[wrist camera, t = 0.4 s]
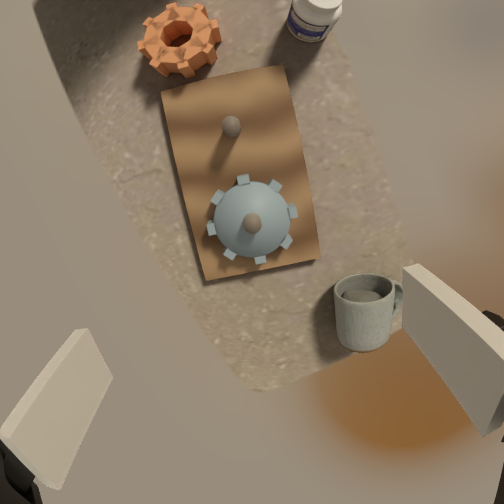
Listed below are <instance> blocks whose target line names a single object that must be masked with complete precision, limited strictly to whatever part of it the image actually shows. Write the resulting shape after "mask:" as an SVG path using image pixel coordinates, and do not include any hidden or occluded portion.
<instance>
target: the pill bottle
mask: <svg viewBox="0 0 504 504" xmlns="http://www.w3.org/2000/svg"><path fill="white" fill-rule="evenodd" d="M342 1H343V0H293V1H292V4H291V7H290V11H289V14H288V18H287V26H288V29H289V31H290V32H291V33H292V34H293V35H294V36H295V37H296V38H298V39H300V40H302V41H306V42H317V41H320V40H322V39H324V38H325V37H326V36H327V35H328V34H329V32H330V31H331V29H332V28H333V26H334V25H335V23H336V22H337V21H338V19H339V18H340V16H341V13H342V5H341V3H342Z"/></svg>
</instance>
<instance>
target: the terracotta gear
mask: <svg viewBox="0 0 504 504" xmlns="http://www.w3.org/2000/svg"><path fill="white" fill-rule="evenodd" d="M166 7H167V10H166V11H164V12H163V13H161V14H160V15H158V16H157V17H155V18H154V19H153V18H150V17H148V18H147V19H146V20H145V22H144V23H143V25H144V26H145V28H146V33H145V36H144V39H143V40H141V41H138V42H137V44H138V50H139V51H140V52H141V53H142V54H143V55H144V56H146V57H147V58H148V59H149V60H150V61H151V62H150V63H149V64H150V65H151V66H152V67H153V68H154V69H155V70H157V71H158V72H159V73H160V74H162V75H164V76H166V77H168V76H169V74H170V73H171V72H172V73H182V74H183V75H184V77H185V78H186V79H188V78H191V77H195V72H194V71H195V70H197V69H198V68H200V67H201V66H203V65H204V64H206V63H209V64H211V65H213V64H214V62H215V61H216V60H217V55H216V52H215V49H214V47H215V43H217V42H221V37H220V32H219V28H218V24H217V20H216V19H215V20H211V21H209V19H208V16H207V13H206V9H205V6H203V5H201V4H198V3H196V4H195V5H194V6H193V7H178V6H177V4H176V2H174V3H171V4H168V5H166ZM182 34H183V35H192V36H191V40H189V41H188V42H186V43H185V44H183V45H182V46H180V47H171V44H172V41H173V40H174V39H176V38H177V37H179V36H180V35H182Z"/></svg>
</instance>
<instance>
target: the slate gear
mask: <svg viewBox="0 0 504 504" xmlns="http://www.w3.org/2000/svg"><path fill="white" fill-rule="evenodd" d="M237 181H238V184H236V185H234V186H233V187H231V188H230V189H229V190H227V191H226V192H225V193H224V192H223V191H221V190H219V189H218V190H217V191H216V193H215V194H214V196H213V197H212V199H211V202H212V203H214V204H215V205H217V207H216V210H215V214H214V219H212V220H209V221H208V223H207V225H206V226H207V230H208V234H209V236H210V235H215V234H217V236H218V238H219V239H220V241H221V242H222V244H223V245H224V246H225V249H224V253H223V255H224V256H226V257H228V258H229V259H231V260H233V259H234V258H235V256H236V255H237V254H238V255H240V256H244V257H254V258H255V263H256V264H261V263H266V262H267V261H266V255H267V254H269V253H271V252H273V251H274V250H275V249H277V248H278V247H279V246H282V247H283V248H285V249H287V248H288V247H289V245H290V244H291V243H292V241H293V240H292V238H291V236H290V234H288V231H289V228H290V219H292V218H297V217H298V213H297V208H296V206H295V204H294V203H289V204H286V202H285V200H284V199H283V197H282V196H281V195H280V194H279V193H278V192H279V191H280V189H281V188H282V185H281V184H280V183H278V182H277V181H275V180H274V179H272V178H271V179H270V180H269V182H268V183H267V184H265V183H263V182H259V181H250V179H249V175H248V174H243V175H239V176H237ZM251 212H253V213H256V214H258V215H259V216H260V218H261V223H262V227H261V229H260V231H259V232H258V233H255V234H250V233H248V232H246V231H245V229H244V227H243V222H244V217H245V216H246V215H247V214H248V213H251Z"/></svg>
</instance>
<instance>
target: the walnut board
mask: <svg viewBox="0 0 504 504" xmlns="http://www.w3.org/2000/svg"><path fill="white" fill-rule="evenodd" d="M161 96H162V101H163V106H164V111H165V116H166V121H167V126H168V130H169V135H170V140H171V144H172V149H173V153H174V158H175V162H176V166H177V171H178V175H179V179H180V183H181V188H182V192H183V196H184V200H185V204H186V208H187V212H188V216H189V220H190V224H191V228H192V231H193V235H194V239H195V243H196V247H197V250H198V254H199V258H200V261H201V265H202V269H203V272H204V276H205V279H206V281H208V280H214V279H219V278H224V277H229V276H234V275H239V274H244V273H249V272H254V271H259V270H264V269H269V268H274V267H279V266H284V265H288V264H293V263H298V262H303V261H308V260H312V259H317V258H321V255H320V248H319V241H318V235H317V228H316V222H315V216H314V210H313V204H312V198H311V192H310V186H309V181H308V176H307V170H306V165H305V160H304V155H303V150H302V145H301V140H300V135H299V130H298V125H297V121H296V116H295V112H294V107H293V103H292V98H291V94H290V90H289V86H288V82H287V77H286V73H285V69H284V65H283V64H282V65H275V66H268V67H262V68H256V69H251V70H245V71H240V72H235V73H230V74H226V75H221V76H217V77H212V78H208V79H204V80H200V81H196V82H192V83H188V84H185V85H181V86H178V87H174V88H171V89H167V90H164V91H161ZM243 174H248V175H249V179H250V181H259V182H263V183H265V184H267V183H268V182H269V180H270V179H271V178H272V179H274V180H275V181H277V182H278V183H280V184H281V185H282V188H281V189H280V191H279V192H278V193H279V194H280V195H281V196H282V197H283V199H284V200H285V202H286V204H289V203H294V204H295V206H296V208H297V213H298V217H297V218H292V219H290V228H289V231H288V234H290V236H291V238H292V240H293V241H292V243H291V244H290V245H289V247H288V248H287V249H285V248H283V247H282V246H279V247H278V248H277V249H275V250H274V251H273V252H271V253H269V254H267V255H266V261H267V262H266V263H261V264H256V263H255V258H254V257H244V256H240V255H238V254H237V255H236V256H235V258H234V259H233V260H231V259H229V258H228V257H226V256H224V255H223V253H224V249H225V246H224V245H223V244H222V242H221V241H220V239H219V238H218V236H217V234H215V235H210V236H209V234H208V230H207V226H206V225H207V223H208V221H209V220H212V219H214V214H215V210H216V207H217V205H215V204H214V203H212V202H211V199H212V197H213V196H214V194H215V193H216V191H217V190H218V189H219V190H221V191H223V192H224V193H225V192H226V191H227V190H229V189H230V188H231V187H233V186H234V185H236V184H238V181H237V176H239V175H243ZM243 227H244V229H245V231H246V232H248V233H250V234H255V233H258V232H259V231H260V229H261V227H262V223H261V218H260V216H259V215H258V214H256V213H253V212H251V213H248V214H247V215H246V216H245V217H244V222H243Z"/></svg>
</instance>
